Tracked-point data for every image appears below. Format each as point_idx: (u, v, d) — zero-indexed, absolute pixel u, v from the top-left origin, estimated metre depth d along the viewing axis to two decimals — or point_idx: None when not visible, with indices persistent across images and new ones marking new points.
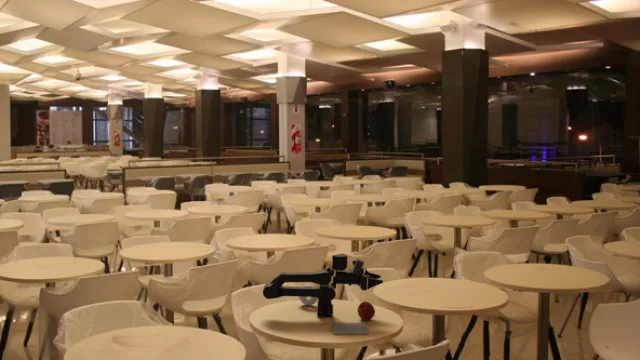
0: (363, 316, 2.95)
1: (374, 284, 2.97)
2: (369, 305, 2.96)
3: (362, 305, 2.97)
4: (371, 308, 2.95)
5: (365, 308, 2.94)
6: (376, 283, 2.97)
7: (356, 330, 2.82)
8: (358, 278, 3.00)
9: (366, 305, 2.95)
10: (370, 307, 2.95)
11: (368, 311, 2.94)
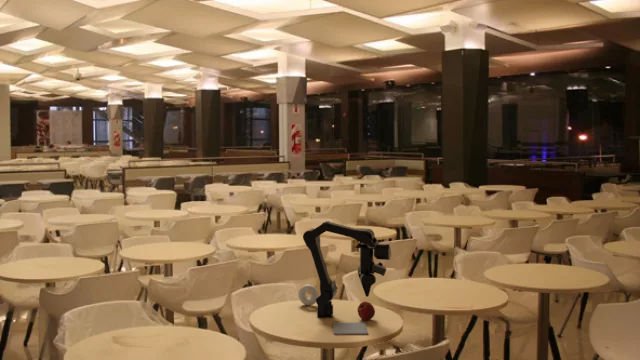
0: (363, 316, 2.95)
1: (365, 288, 2.91)
2: (369, 305, 2.96)
3: (362, 305, 2.97)
4: (371, 308, 2.95)
5: (365, 308, 2.94)
6: (365, 290, 2.91)
7: (356, 330, 2.82)
8: (368, 271, 2.93)
9: (366, 305, 2.95)
10: (370, 307, 2.95)
11: (368, 311, 2.94)
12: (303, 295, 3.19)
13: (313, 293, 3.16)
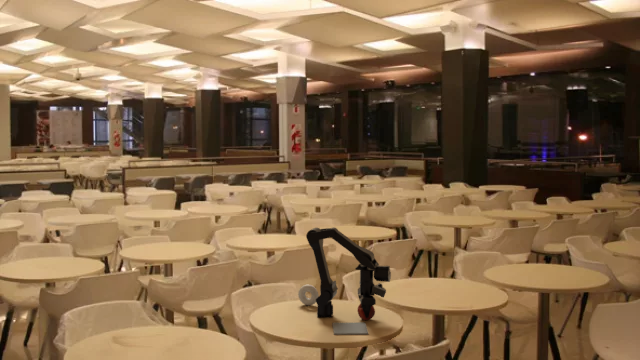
0: (363, 316, 2.95)
1: (364, 310, 2.93)
2: None
3: None
4: (371, 308, 2.95)
5: None
6: (365, 311, 2.93)
7: (356, 330, 2.82)
8: (368, 293, 2.94)
9: None
10: None
11: None
12: (303, 295, 3.19)
13: (313, 293, 3.16)
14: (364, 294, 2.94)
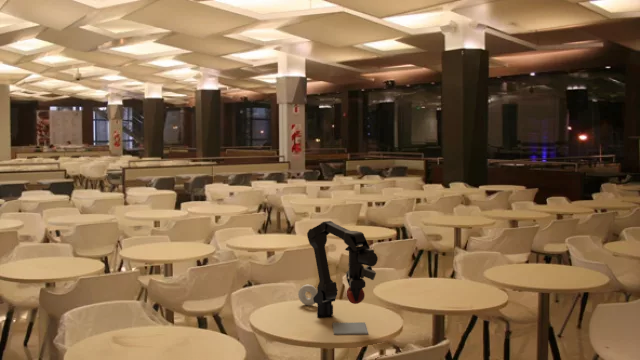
0: (352, 299, 2.84)
1: (354, 293, 2.82)
2: None
3: None
4: (361, 292, 2.85)
5: None
6: (355, 295, 2.82)
7: (356, 330, 2.82)
8: (357, 275, 2.84)
9: None
10: None
11: None
12: (303, 295, 3.19)
13: (313, 293, 3.16)
14: (353, 277, 2.84)
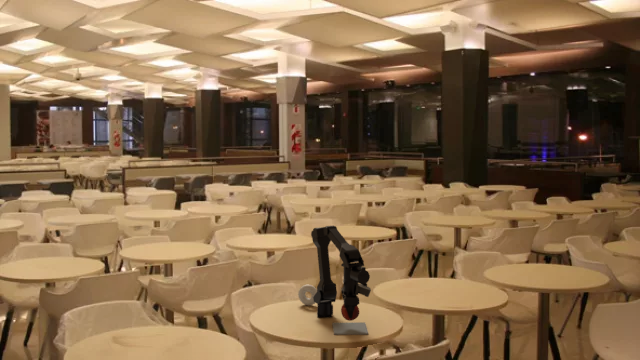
0: (347, 316, 2.81)
1: (348, 310, 2.79)
2: None
3: None
4: (355, 308, 2.82)
5: None
6: (349, 312, 2.79)
7: (356, 330, 2.82)
8: (352, 292, 2.81)
9: None
10: None
11: None
12: (303, 295, 3.19)
13: (313, 293, 3.16)
14: (348, 293, 2.81)
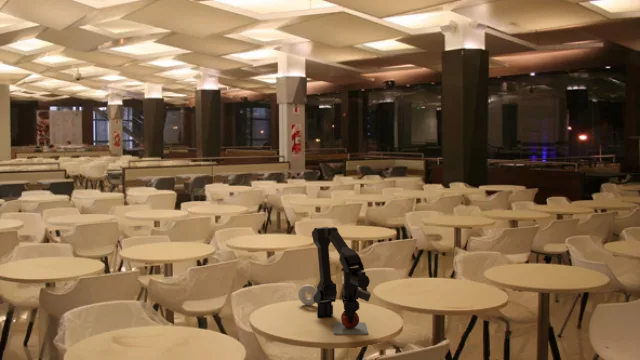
0: (347, 324, 2.81)
1: (348, 315, 2.79)
2: None
3: None
4: (355, 316, 2.82)
5: None
6: (349, 317, 2.79)
7: (356, 330, 2.82)
8: (352, 296, 2.81)
9: None
10: (354, 315, 2.82)
11: None
12: (303, 295, 3.19)
13: (313, 293, 3.16)
14: (348, 298, 2.81)
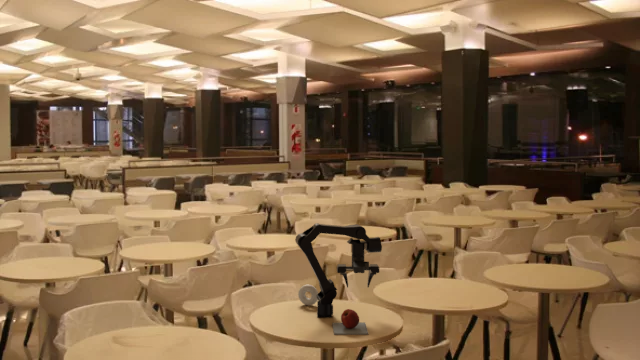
0: (347, 324, 2.81)
1: None
2: (353, 313, 2.82)
3: (346, 313, 2.83)
4: (355, 316, 2.82)
5: (349, 316, 2.81)
6: None
7: (356, 330, 2.82)
8: None
9: (350, 313, 2.82)
10: (354, 315, 2.82)
11: (352, 319, 2.81)
12: (303, 295, 3.19)
13: (313, 293, 3.16)
14: None
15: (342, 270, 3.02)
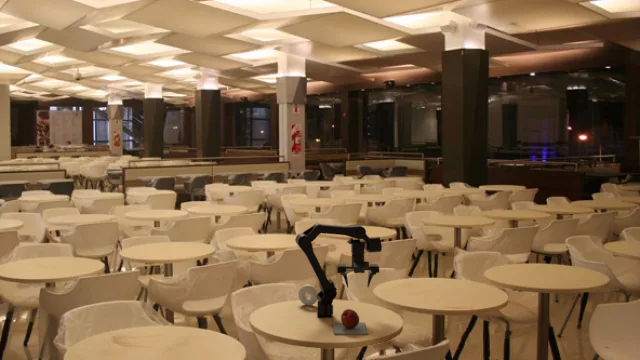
0: (347, 324, 2.81)
1: None
2: (353, 313, 2.82)
3: (346, 313, 2.83)
4: (355, 316, 2.82)
5: (349, 316, 2.81)
6: None
7: (356, 330, 2.82)
8: None
9: (350, 313, 2.82)
10: (354, 315, 2.82)
11: (352, 319, 2.81)
12: (303, 295, 3.19)
13: (313, 293, 3.16)
14: None
15: (342, 270, 3.02)
